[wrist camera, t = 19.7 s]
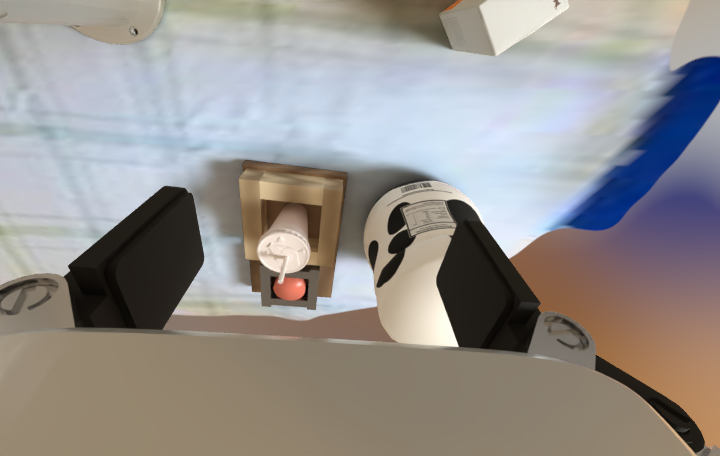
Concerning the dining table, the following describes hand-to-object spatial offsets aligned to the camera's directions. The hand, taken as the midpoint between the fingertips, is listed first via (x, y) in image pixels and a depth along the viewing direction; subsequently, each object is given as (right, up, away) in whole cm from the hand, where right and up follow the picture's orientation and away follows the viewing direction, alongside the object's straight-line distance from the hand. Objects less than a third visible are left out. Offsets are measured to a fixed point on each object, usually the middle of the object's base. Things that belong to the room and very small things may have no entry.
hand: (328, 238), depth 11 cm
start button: (-10, -8, +39) cm, 41 cm away
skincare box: (+13, +24, +21) cm, 35 cm away
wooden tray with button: (-9, -1, +37) cm, 38 cm away
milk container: (+10, +1, +36) cm, 38 cm away
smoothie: (-9, +3, +33) cm, 34 cm away
